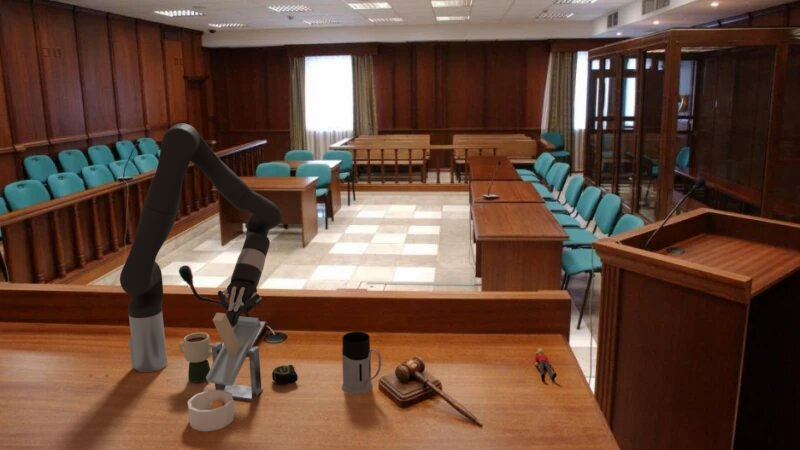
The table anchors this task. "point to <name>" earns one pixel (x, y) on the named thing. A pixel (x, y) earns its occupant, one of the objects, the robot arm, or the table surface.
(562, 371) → the table surface
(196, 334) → the character mug
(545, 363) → the person figure
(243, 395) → the stand
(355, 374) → the glass holder
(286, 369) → the tape measure
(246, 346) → the tipping board
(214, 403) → the ball
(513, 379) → the table surface
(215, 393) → the cup
